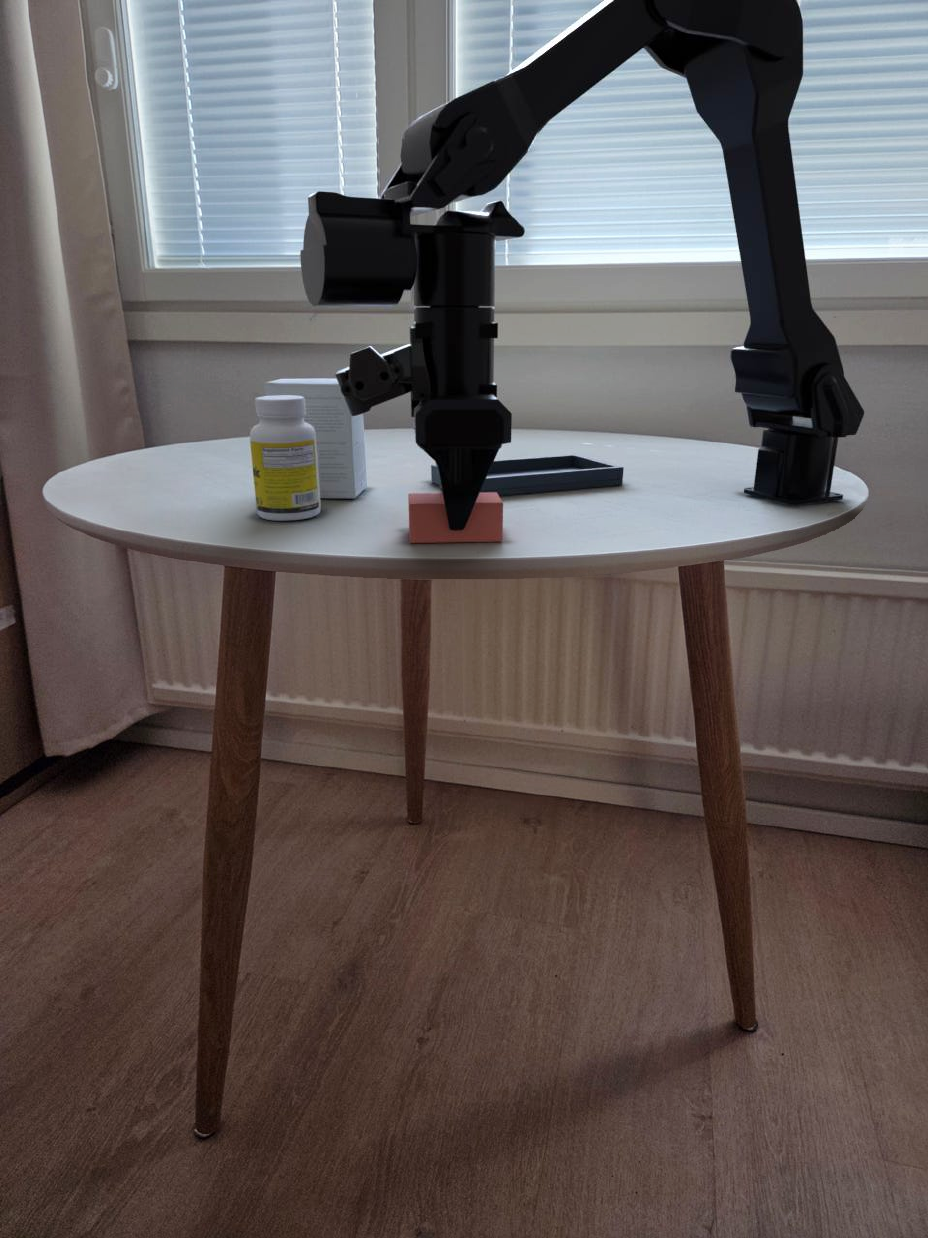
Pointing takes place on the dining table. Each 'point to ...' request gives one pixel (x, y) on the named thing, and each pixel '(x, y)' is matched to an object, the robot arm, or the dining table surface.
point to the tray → (546, 474)
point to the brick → (433, 523)
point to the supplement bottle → (284, 460)
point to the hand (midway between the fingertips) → (454, 523)
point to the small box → (330, 434)
